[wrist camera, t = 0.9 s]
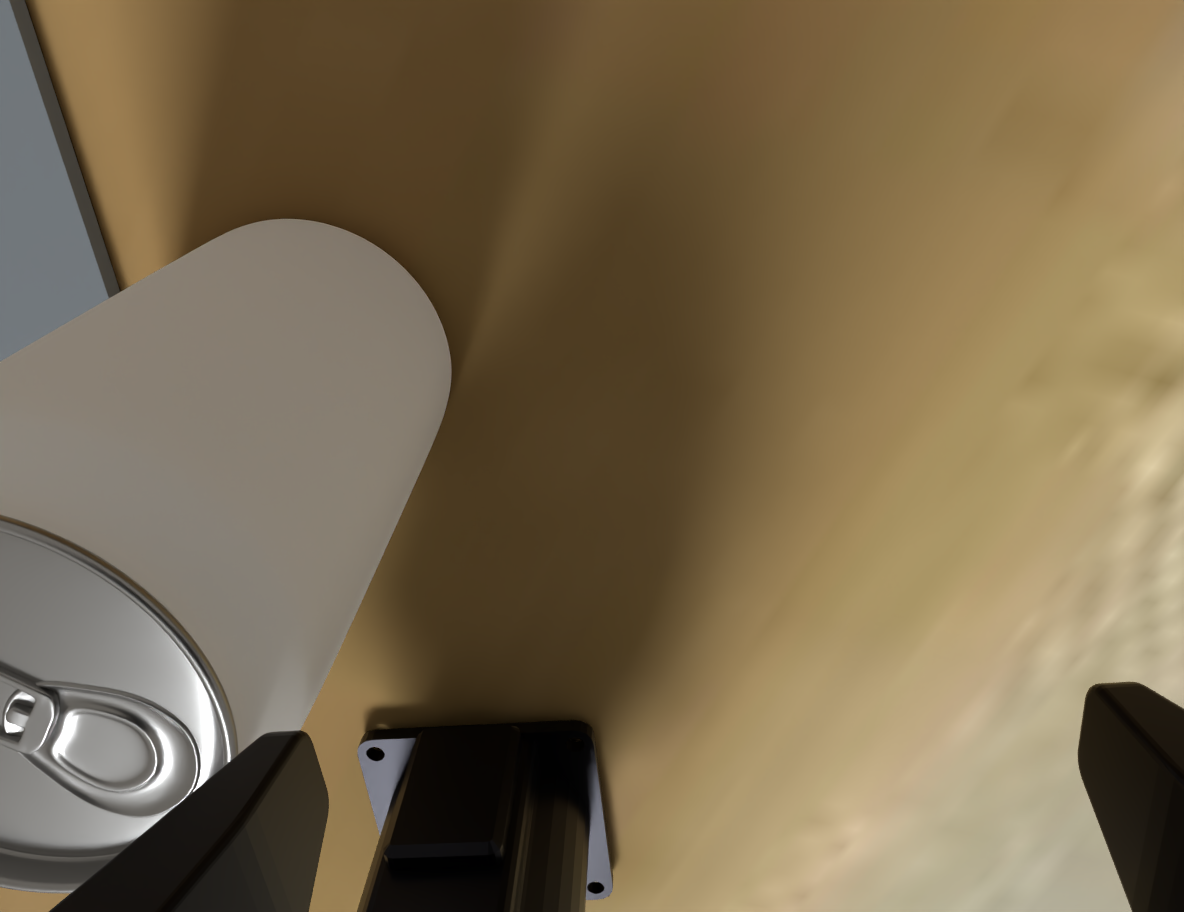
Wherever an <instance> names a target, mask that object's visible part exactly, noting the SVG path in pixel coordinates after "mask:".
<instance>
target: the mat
mask: <svg viewBox="0 0 1184 912" xmlns="http://www.w3.org/2000/svg"><path fill="white" fill-rule="evenodd" d="M119 292H120V290H119V287H118V283H117V280H116V277H115V274H114V271H113V268H112V265H111V262H110V259H109V256H108V253H107V250H106V247H105V244H104V241H103V238H102V235H101V232H100V229H99V226H98V222H97V219H96V216H95V213H94V210H93V207H92V204H91V201H90V198H89V195H88V192H87V189H86V186H85V183H84V180H83V177H82V174H81V171H80V168H79V165H78V162H77V158H76V155H75V152H74V149H73V146H72V143H71V140H70V137H69V134H68V131H67V128H66V125H65V122H64V119H63V116H62V113H61V110H60V107H59V104H58V101H57V97H56V94H55V91H54V88H53V85H52V82H51V79H50V76H49V73H48V70H47V67H46V64H45V61H44V58H43V55H42V52H41V49H40V46H39V43H38V40H37V37H36V33H35V30H34V27H33V24H32V21H31V18H30V15H29V12H28V9H27V6H26V3H25V0H0V362H1V361H2V360H4V359H6V358H7V357H9V356H11V355H12V354H14V353H16V352H18V351H19V350H21V349H23V348H24V347H26V346H28V345H30V344H31V343H33V342H35V341H36V340H38V339H40V338H42V337H43V336H45V335H47V334H48V333H50V332H52V331H54V330H55V329H57V328H59V327H61V326H62V325H64V324H66V323H67V322H69V321H71V320H73V319H74V318H76V317H78V316H80V315H81V314H83V313H85V312H86V311H88V310H90V309H92V308H93V307H95V306H97V305H98V304H100V303H102V302H104V301H105V300H107V299H109V298H111V297H112V296H114V295H116V294H118V293H119Z"/></svg>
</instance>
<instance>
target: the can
mask: <svg viewBox="0 0 1184 912" xmlns="http://www.w3.org/2000/svg"><path fill="white" fill-rule="evenodd" d="M451 372H452V370H451V358H450V351H449V346H448V342H447V338H446V335H445V332H444V329H443V326H442V324H441V321H440V319H439V317H438V315H437V312H436V310H435V309H434V307H433V305H432V303H431V301H430V300H429V298H428V297H427V295H426V294H425V292H424V291H423V289H422V288H421V287H420V285H419V284H418V283H417V282H416V280H415V279H414V278H413V277H412V276H411V275H410V274H409V273H408V272H407V271H406V269H405V268H404V267H402V266H401V265H400V264H399V263H398V262H397V261H396V260H395V259H394V258H392V257H391V256H390V255H388V254H387V253H386V252H384V251H383V250H382V249H380V248H379V247H377V246H376V245H374V244H373V243H371V242H369V241H367V240H366V239H364V238H362V237H360V236H358V235H356V234H354V233H351V232H349V231H347V230H344V229H341V228H338V227H335V226H332V225H329V224H325V223H320V222H316V221H310V220H301V219H274V220H266V221H260V222H255V223H251V224H248V225H245V226H242V227H239V228H236V229H234V230H231V231H229V232H227V233H225V234H223V235H221V236H219V237H217V238H215V239H213V240H211V241H209V242H207V243H205V244H204V245H202V246H200V247H198V248H196V249H195V250H193V251H191V252H189V253H187V254H186V255H184V256H182V257H180V258H179V259H177V260H175V261H173V262H172V263H170V264H168V265H166V266H165V267H163V268H161V269H159V270H158V271H156V272H154V273H152V274H151V275H149V276H147V277H145V278H144V279H142V280H140V281H138V282H137V283H135V284H133V285H131V286H130V287H128V288H126V289H125V290H123V291H121V292H119V293H118V294H116V295H114V296H112V297H111V298H109V299H107V300H105V301H104V302H102V303H100V304H98V305H97V306H95V307H93V308H92V309H90V310H88V311H86V312H85V313H83V314H81V315H80V316H78V317H76V318H74V319H73V320H71V321H69V322H67V323H66V324H64V325H62V326H61V327H59V328H57V329H55V330H54V331H52V332H50V333H48V334H47V335H45V336H43V337H42V338H40V339H38V340H36V341H35V342H33V343H31V344H30V345H28V346H26V347H24V348H23V349H21V350H19V351H18V352H16V353H14V354H12V355H11V356H9V357H7V358H6V359H4V360H2V361H1V362H0V887H2V888H8V889H14V890H21V891H29V892H40V893H72V892H73V891H74V890H75V889H77V888H78V887H79V886H80V885H81V884H83V883H84V882H85V881H86V880H88V879H89V878H90V877H91V876H92V875H94V874H95V873H96V872H97V871H98V870H100V869H101V868H102V867H103V866H104V865H106V864H107V863H108V862H109V861H110V860H112V859H113V858H114V857H115V856H116V855H118V854H119V853H120V852H121V851H122V850H124V849H125V848H126V847H127V846H128V845H130V844H131V843H132V842H133V841H134V840H136V839H137V838H138V837H139V836H141V835H142V834H143V833H144V832H145V831H147V830H148V829H149V828H150V827H151V826H153V825H154V824H155V823H156V822H157V821H159V820H160V819H161V818H162V817H163V816H165V815H166V814H167V813H168V812H169V811H171V810H172V809H173V808H174V807H175V806H177V805H178V804H179V803H180V802H181V801H183V800H184V799H185V798H186V797H188V796H189V795H190V794H191V793H192V792H194V791H195V790H196V789H197V788H198V787H200V786H201V785H202V784H203V783H204V782H206V781H207V780H208V779H209V778H210V777H212V776H213V775H214V774H215V773H216V772H218V771H219V770H220V769H221V768H222V767H224V766H225V765H226V764H227V763H228V762H230V761H231V760H232V759H233V758H235V757H236V756H237V755H238V754H239V753H241V752H242V751H243V750H244V749H245V748H247V747H248V746H249V745H250V744H251V743H253V742H254V741H255V740H256V739H257V738H259V737H260V736H262V735H263V734H265V733H269V732H278V731H295V730H300V729H301V727H302V726H303V724H304V722H305V720H306V718H307V716H308V714H309V712H310V710H311V708H312V706H313V704H314V702H315V700H316V698H317V696H318V694H319V692H320V690H321V688H322V686H323V683H324V681H325V679H326V677H327V675H328V673H329V671H330V669H331V666H332V664H333V662H334V660H335V658H336V656H337V654H338V652H339V649H340V647H341V645H342V643H343V641H344V639H345V636H346V634H347V632H348V630H349V628H350V626H351V623H352V621H353V619H354V617H355V615H356V613H357V610H358V608H359V606H360V604H361V602H362V600H363V597H364V595H365V593H366V591H367V589H368V586H369V584H370V582H371V580H372V578H373V575H374V573H375V571H376V569H377V567H378V564H379V562H380V560H381V558H382V556H383V554H384V551H385V549H386V547H387V545H388V543H389V540H390V538H391V536H392V534H393V532H394V529H395V527H396V525H397V523H398V521H399V518H400V516H401V514H402V512H403V509H404V507H405V505H406V503H407V501H408V498H409V496H410V494H411V492H412V490H413V487H414V485H415V483H416V481H417V478H418V476H419V474H420V472H421V469H422V467H423V465H424V463H425V460H426V458H427V456H428V454H429V451H430V449H431V447H432V444H433V442H434V440H435V437H436V435H437V432H438V430H439V427H440V425H441V422H442V419H443V416H444V413H445V410H446V406H447V402H448V398H449V393H450V387H451Z"/></svg>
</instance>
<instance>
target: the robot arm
mask: <svg viewBox="0 0 1184 912" xmlns="http://www.w3.org/2000/svg"><path fill="white" fill-rule="evenodd" d="M570 738H579V739H581V740H582V741H578V742H576V741H572V740H570ZM372 747H378V748H380V749H382V751H379V750H375V749H374V748H372ZM358 758H359V761H360V765H361V769H362V772H363V776H364V780H365V783H366V787H367V790H368V794H369V798H370V801H371V805H372V808H373V812H374V816H375V819H376V823H377V827H378V830H379V834H380V838H379V841H378V845H377V848H376V851H375V854H374V858H373V861H372V864H371V867H370V871H369V874H368V877H367V880H366V884H365V887H364V890H363V893H362V897H361V900H360V903H359V906H358V910H357V912H585V903H586V900H598V899H604V898H606V897H607V896H609V895H610V894H611V892H612V888H613V872H612V864H611V857H610V849H609V841H608V834H607V826H606V818H605V811H604V803H603V796H602V788H601V780H600V773H599V765H598V757H597V750H596V742H595V735H594V731H593V729H592V727H590V726H589V725H588V724H587V723H585V722H583V721H577V720H568V721H547V722H527V723H506V724H485V725H464V726H444V727H423V728H402V729H382V730H372V731H369V732H367V733H366V734H364V736H363V737H362V739H361V742H360V744H359V747H358ZM1078 764H1079V770H1080V774H1081V777H1082V780H1083V783H1084V786H1085V788H1086V791H1087V794H1088V796H1089V799H1090V802H1091V804H1092V807H1093V809H1094V812H1095V815H1096V817H1097V820H1098V823H1099V825H1100V828H1101V831H1102V833H1103V836H1104V839H1105V841H1106V844H1107V846H1108V849H1109V852H1110V854H1111V857H1112V860H1113V862H1114V865H1115V868H1116V870H1117V873H1118V876H1119V878H1120V881H1121V883H1122V886H1123V889H1124V891H1125V894H1126V897H1127V899H1128V902H1129V905H1130V907H1131V910H1132V912H1184V709H1183V708H1182V707H1180V706H1178V705H1176V704H1175V703H1173V702H1171V701H1170V700H1168V699H1166V698H1165V697H1163V696H1161V695H1160V694H1158V693H1156V692H1155V691H1153V690H1151V689H1150V688H1148V687H1146V686H1144V685H1142V684H1140V683H1137V682H1118V683H1101V684H1095V685H1093V686H1092V687H1090V688H1089V690H1088V692H1087V694H1086V698H1085V704H1084V711H1083V718H1082V725H1081V732H1080V739H1079V746H1078ZM328 809H329V799H328V792H327V788H326V785H325V781H324V778H323V775H322V772H321V768H320V765H319V762H318V759H317V755H316V752H315V749H314V746H313V743H312V740H311V738H310V737H309V735H308V734H307V733H306V732H303V731H300V730H295V731H278V732H269V733H265V734H263V735H262V736H260V737H259V738H257V739H256V740H255V741H254V742H253V743H251V744H250V745H249V746H248V747H247V748H245V749H244V750H243V751H242V752H241V753H239V754H238V755H237V756H236V757H235V758H233V759H232V760H231V761H230V762H228V763H227V764H226V765H225V766H224V767H222V768H221V769H220V770H219V771H218V772H216V773H215V774H214V775H213V776H212V777H210V778H209V779H208V780H207V781H206V782H204V783H203V784H202V785H201V786H200V787H198V788H197V789H196V790H195V791H194V792H192V793H191V794H190V795H189V796H188V797H186V798H185V799H184V800H183V801H181V802H180V803H179V804H178V805H177V806H175V807H174V808H173V809H172V810H171V811H169V812H168V813H167V814H166V815H165V816H163V817H162V818H161V819H160V820H159V821H157V822H156V823H155V824H154V825H153V826H151V827H150V828H149V829H148V830H147V831H145V832H144V833H143V834H142V835H141V836H139V837H138V838H137V839H136V840H134V841H133V842H132V843H131V844H130V845H128V846H127V847H126V848H125V849H124V850H122V851H121V852H120V853H119V854H118V855H116V856H115V857H114V858H113V859H112V860H110V861H109V862H108V863H107V864H106V865H104V866H103V867H102V868H101V869H100V870H98V871H97V872H96V873H95V874H94V875H92V876H91V877H90V878H89V879H88V880H86V881H85V882H84V883H83V884H81V885H80V886H79V887H78V888H77V889H75V890H74V891H73V892H72V893H71V894H69V895H68V896H67V897H66V898H65V899H63V900H62V901H61V902H60V903H59V904H57V905H56V906H55V907H54V908H53V909H51V910H50V911H49V912H309V907H310V902H311V897H312V892H313V887H314V882H315V877H316V872H317V867H318V862H319V857H320V852H321V847H322V842H323V838H324V833H325V828H326V823H327V818H328Z"/></svg>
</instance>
